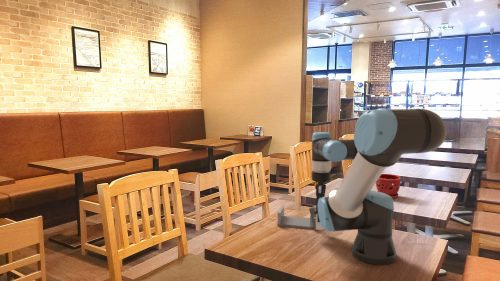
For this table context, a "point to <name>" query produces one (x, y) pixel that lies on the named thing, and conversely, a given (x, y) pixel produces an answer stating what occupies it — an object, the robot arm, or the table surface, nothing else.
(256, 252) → the table surface
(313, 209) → the electrical switch
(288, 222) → the housing
